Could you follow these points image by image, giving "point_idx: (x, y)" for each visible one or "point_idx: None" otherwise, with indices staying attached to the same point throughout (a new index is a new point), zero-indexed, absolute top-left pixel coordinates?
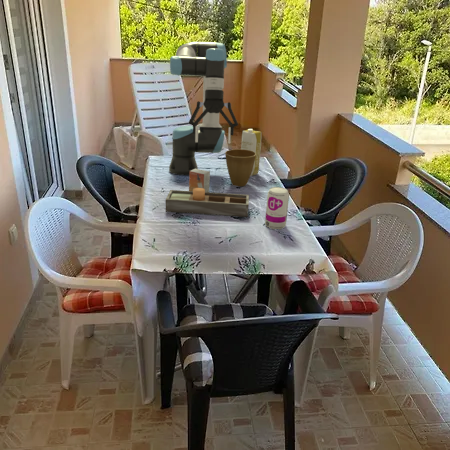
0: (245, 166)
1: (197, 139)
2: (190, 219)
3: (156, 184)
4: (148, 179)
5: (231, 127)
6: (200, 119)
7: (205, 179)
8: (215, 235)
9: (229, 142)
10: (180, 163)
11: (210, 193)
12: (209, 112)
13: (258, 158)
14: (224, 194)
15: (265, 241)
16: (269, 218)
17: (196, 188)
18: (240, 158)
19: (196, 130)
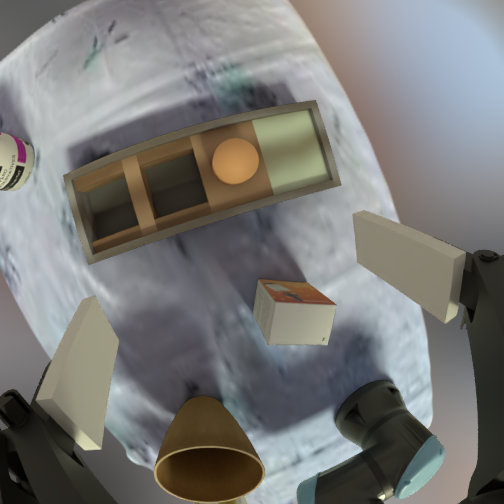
0: (171, 433)
1: (367, 237)
2: (218, 90)
3: (399, 294)
4: (421, 314)
5: (41, 415)
6: (499, 315)
7: (267, 304)
8: (129, 43)
9: (83, 302)
10: (383, 403)
11: (208, 215)
12: (476, 500)
13: (195, 502)
14: (160, 230)
15: (30, 80)
16: (13, 136)
17: (250, 169)
18: (185, 445)
19: (427, 240)
